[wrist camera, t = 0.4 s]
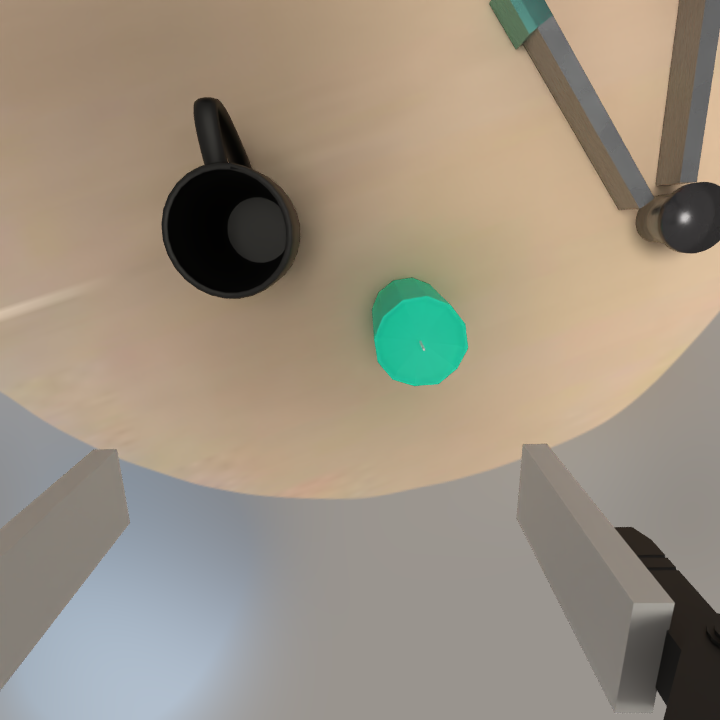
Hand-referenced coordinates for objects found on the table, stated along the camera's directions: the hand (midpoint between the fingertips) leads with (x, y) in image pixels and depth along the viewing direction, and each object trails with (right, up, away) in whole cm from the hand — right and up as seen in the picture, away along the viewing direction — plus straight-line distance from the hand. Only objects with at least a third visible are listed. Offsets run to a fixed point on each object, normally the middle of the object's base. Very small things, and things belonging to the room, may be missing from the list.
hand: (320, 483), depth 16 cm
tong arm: (+17, +23, +20) cm, 35 cm away
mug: (-7, +16, +23) cm, 29 cm away
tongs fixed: (+25, +24, +20) cm, 40 cm away
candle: (+5, +8, +25) cm, 27 cm away
